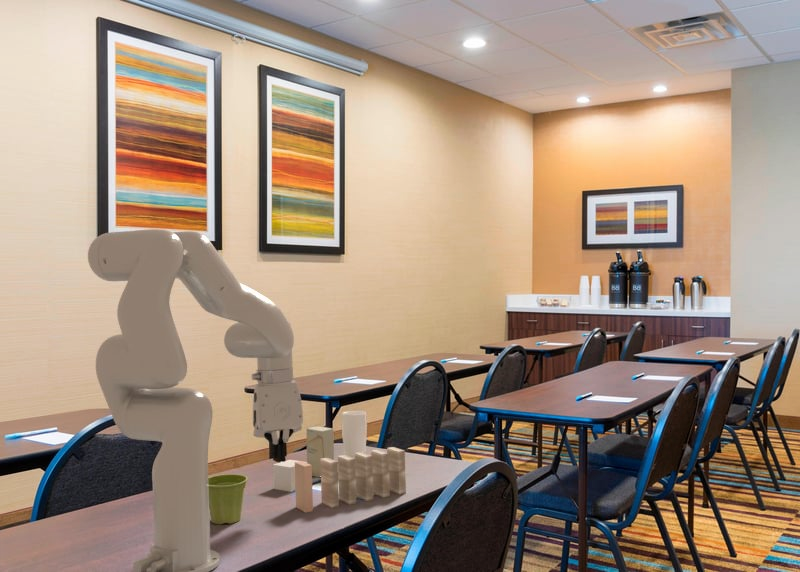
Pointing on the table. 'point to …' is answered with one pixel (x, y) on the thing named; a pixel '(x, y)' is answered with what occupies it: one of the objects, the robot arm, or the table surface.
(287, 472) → the white cube
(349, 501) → the domino
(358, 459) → the domino
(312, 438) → the skincare box
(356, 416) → the drinking glass
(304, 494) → the domino
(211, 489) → the plant pot
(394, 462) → the domino
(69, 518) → the table surface
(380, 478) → the domino
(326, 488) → the domino
